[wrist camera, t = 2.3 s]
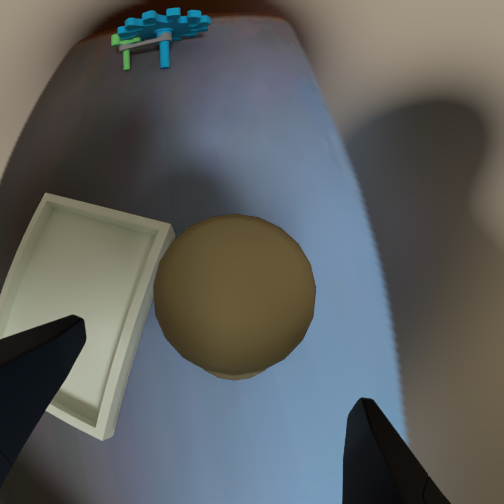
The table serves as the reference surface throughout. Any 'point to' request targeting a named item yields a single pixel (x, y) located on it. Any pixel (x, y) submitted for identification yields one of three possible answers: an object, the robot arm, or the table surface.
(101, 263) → the tray
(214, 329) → the cork
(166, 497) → the table surface
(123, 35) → the gear
